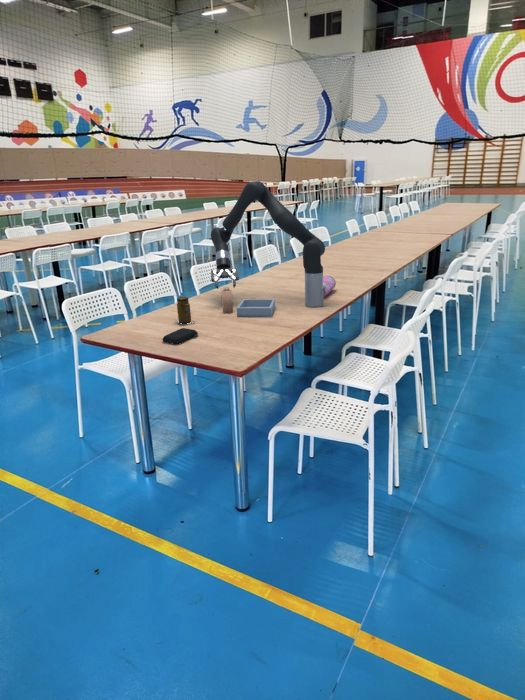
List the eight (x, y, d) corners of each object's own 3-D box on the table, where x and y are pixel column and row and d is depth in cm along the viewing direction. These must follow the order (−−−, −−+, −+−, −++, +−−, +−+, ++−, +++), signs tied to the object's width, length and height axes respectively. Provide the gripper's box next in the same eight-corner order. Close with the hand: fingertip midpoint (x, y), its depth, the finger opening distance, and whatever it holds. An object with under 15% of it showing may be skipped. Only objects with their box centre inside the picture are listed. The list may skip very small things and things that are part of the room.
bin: (275, 307, 246) (275, 299, 244) (271, 317, 231) (271, 308, 230) (243, 307, 249) (242, 299, 247) (237, 316, 234) (236, 308, 232)
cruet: (234, 310, 245) (232, 286, 241) (232, 313, 240) (230, 288, 236) (224, 310, 246) (222, 286, 241) (221, 313, 241) (220, 288, 237)
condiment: (189, 319, 234) (186, 295, 230) (195, 323, 227) (193, 299, 223) (175, 321, 231) (172, 297, 227) (181, 326, 224) (178, 301, 220)
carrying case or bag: (179, 347, 199) (201, 336, 211) (178, 340, 198) (201, 329, 210) (160, 343, 205) (183, 332, 216) (159, 336, 204) (182, 326, 215)
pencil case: (324, 300, 256) (324, 283, 252) (308, 299, 260) (308, 282, 256) (337, 290, 273) (337, 275, 270) (321, 289, 277) (321, 274, 274)
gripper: (209, 257, 247) (211, 284, 241) (236, 255, 248) (239, 282, 242) (209, 265, 254) (212, 292, 247) (236, 264, 255) (239, 290, 249)
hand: (225, 287), depth 245 cm, fingers open, 8 cm apart
